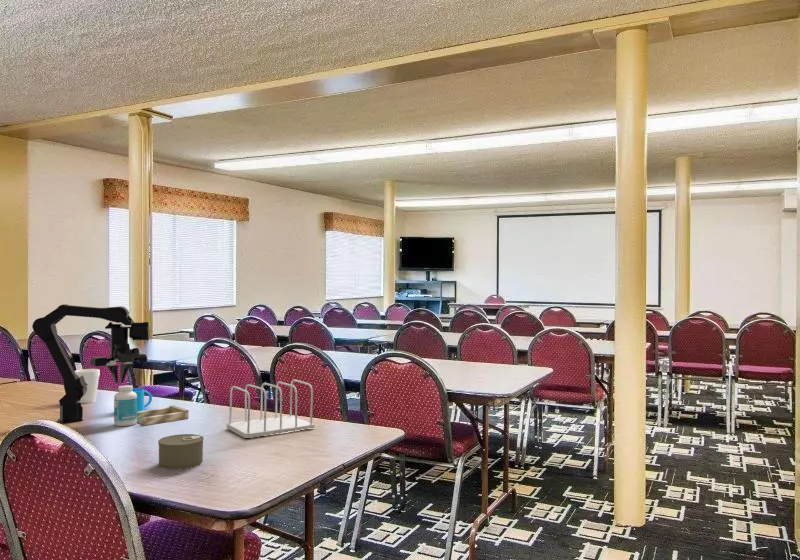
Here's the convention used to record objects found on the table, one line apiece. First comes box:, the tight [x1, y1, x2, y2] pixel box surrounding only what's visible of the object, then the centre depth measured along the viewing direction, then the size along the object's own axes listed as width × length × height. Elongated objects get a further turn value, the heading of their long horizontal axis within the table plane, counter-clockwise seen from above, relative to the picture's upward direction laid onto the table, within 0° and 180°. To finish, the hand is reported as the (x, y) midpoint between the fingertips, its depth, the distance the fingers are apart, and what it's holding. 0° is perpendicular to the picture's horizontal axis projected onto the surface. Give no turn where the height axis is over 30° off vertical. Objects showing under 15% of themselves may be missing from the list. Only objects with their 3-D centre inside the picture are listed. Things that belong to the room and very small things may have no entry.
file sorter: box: [226, 378, 315, 439], centre depth 217 cm, size 25×17×16 cm
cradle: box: [136, 405, 190, 426], centre depth 231 cm, size 16×12×3 cm
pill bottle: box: [113, 384, 138, 427], centre depth 222 cm, size 8×7×14 cm
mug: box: [132, 387, 153, 412], centre depth 246 cm, size 12×8×8 cm
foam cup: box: [74, 368, 101, 404], centre depth 262 cm, size 10×9×13 cm
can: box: [157, 433, 204, 470], centre depth 176 cm, size 12×12×7 cm
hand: (119, 383), depth 231 cm, fingers closed
